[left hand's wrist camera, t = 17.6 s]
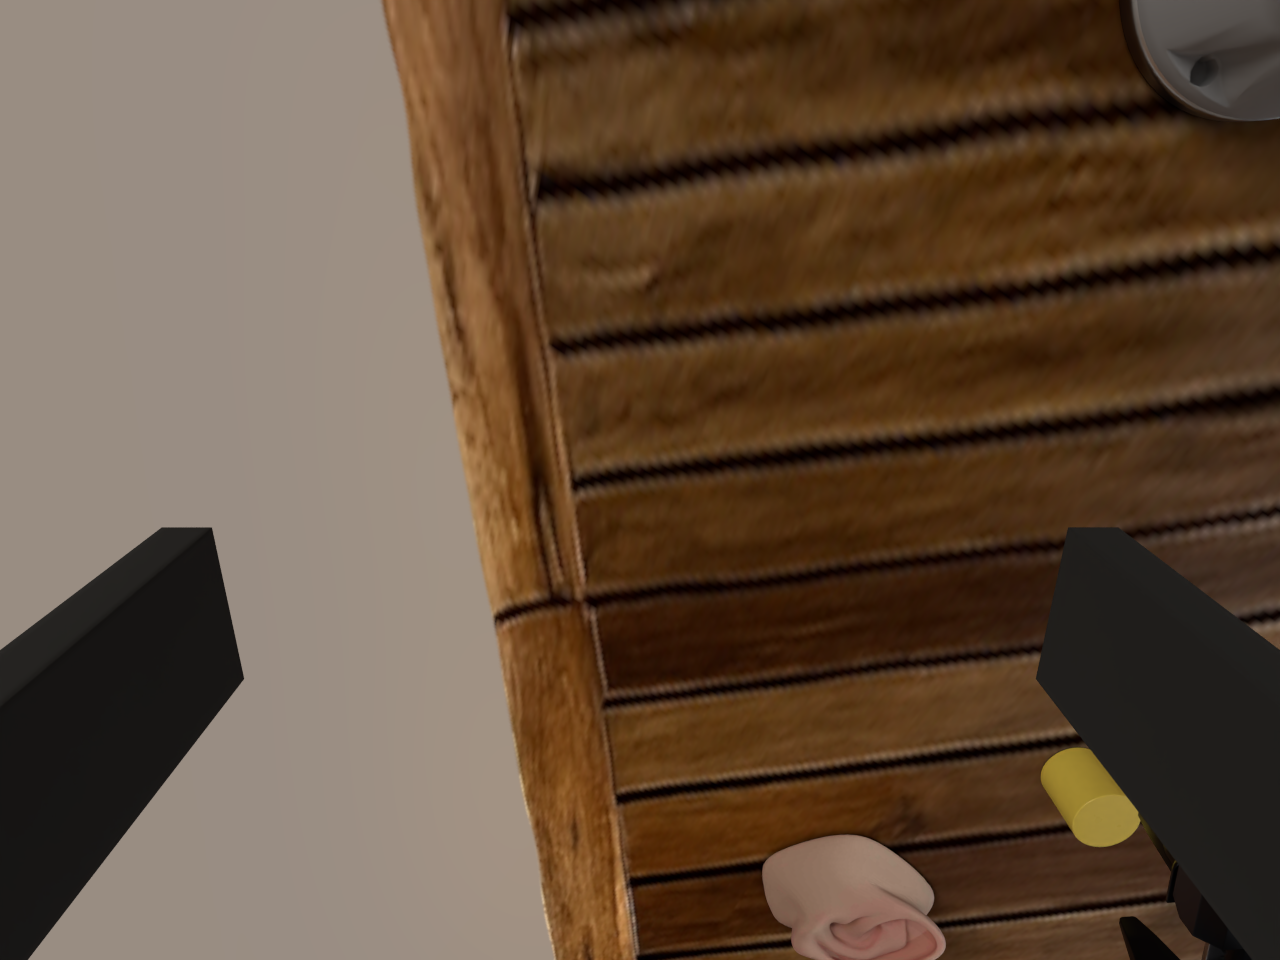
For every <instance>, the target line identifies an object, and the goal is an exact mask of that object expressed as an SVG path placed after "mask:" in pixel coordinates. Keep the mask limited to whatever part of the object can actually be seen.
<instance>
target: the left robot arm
mask: <svg viewBox="0 0 1280 960" xmlns="http://www.w3.org/2000/svg"><path fill="white" fill-rule="evenodd" d="M1119 5H1120V14H1121V22H1122V26H1123V31H1124V36H1125V39H1126V42H1127V45H1128V48H1129V51H1130V53H1131V55H1132V57H1133V60H1134V62H1135V64H1136V65H1137V67H1138V69H1139V70H1140V72H1141V74H1142V75H1143V77H1144V78H1145V79H1146V81H1147V82H1148V83H1149V84H1150V86H1151V87H1152V88H1153V89H1154V90H1155V91H1156V92H1157V93H1158V94H1159V95H1160V96H1162V97H1163V98H1164V99H1165V100H1167V101H1168V102H1169V103H1171V104H1172V105H1174V106H1176V107H1177V108H1179V109H1181V110H1183V111H1185V112H1187V113H1190V114H1192V115H1195V116H1198V117H1201V118H1204V119H1209V120H1215V121H1223V122H1247V121H1261V120H1270V119H1277V118H1280V0H1119ZM243 680H244V676H243V671H242V667H241V662H240V657H239V653H238V648H237V643H236V639H235V634H234V629H233V625H232V620H231V615H230V610H229V606H228V601H227V596H226V592H225V587H224V582H223V578H222V573H221V568H220V564H219V559H218V554H217V550H216V545H215V540H214V536H213V531H212V528H161V529H159V530H158V531H157V532H155V533H154V534H153V535H151V536H150V537H149V538H147V539H146V540H145V541H143V542H142V543H141V544H140V545H138V546H137V547H136V548H134V549H133V550H132V551H130V552H129V553H128V554H126V555H125V556H124V557H122V558H121V559H120V560H118V561H117V562H116V563H114V564H113V565H112V566H111V567H109V568H108V569H107V570H105V571H104V572H103V573H101V574H100V575H99V576H97V577H96V578H95V579H93V580H92V581H91V582H89V583H88V584H87V585H86V586H84V587H83V588H82V589H80V590H79V591H78V592H76V593H75V594H74V595H72V596H71V597H70V598H68V599H67V600H66V601H64V602H63V603H62V604H60V605H59V606H58V607H57V608H55V609H54V610H53V611H51V612H50V613H49V614H47V615H46V616H45V617H43V618H42V619H41V620H39V621H38V622H37V623H35V624H34V625H33V626H31V627H30V628H29V629H28V630H26V631H25V632H24V633H22V634H21V635H20V636H18V637H17V638H16V639H14V640H13V641H12V642H10V643H9V644H8V645H6V646H5V647H4V648H2V649H1V650H0V960H28V959H29V957H30V956H31V955H32V954H33V952H34V951H35V950H36V948H37V947H38V946H39V945H40V943H41V942H42V941H43V939H44V938H45V937H46V935H47V934H48V933H49V932H50V930H51V929H52V928H53V926H54V925H55V924H56V922H57V921H58V920H59V919H60V917H61V916H62V915H63V913H64V912H65V911H66V909H67V908H68V907H69V906H70V904H71V903H72V902H73V900H74V899H75V898H76V896H77V895H78V894H79V893H80V891H81V890H82V889H83V887H84V886H85V885H86V883H87V882H88V881H89V880H90V878H91V877H92V876H93V874H94V873H95V872H96V870H97V869H98V868H99V867H100V865H101V864H102V863H103V861H104V860H105V859H106V857H107V856H108V855H109V854H110V852H111V851H112V850H113V848H114V847H115V846H116V845H117V843H118V842H119V841H120V839H121V838H122V837H123V835H124V834H125V833H126V832H127V830H128V829H129V828H130V826H131V825H132V824H133V822H134V821H135V820H136V819H137V817H138V816H139V815H140V813H141V812H142V811H143V809H144V808H145V807H146V806H147V804H148V803H149V802H150V800H151V799H152V798H153V796H154V795H155V794H156V793H157V791H158V790H159V789H160V787H161V786H162V785H163V783H164V782H165V781H166V780H167V778H168V777H169V776H170V774H171V773H172V772H173V771H174V769H175V768H176V767H177V765H178V764H179V763H180V761H181V760H182V759H183V757H184V756H185V755H186V754H187V752H188V751H189V750H190V748H191V747H192V746H193V745H194V743H195V742H196V741H197V739H198V738H199V737H200V735H201V734H202V733H203V732H204V730H205V729H206V728H207V726H208V725H209V724H210V722H211V721H212V720H213V719H214V717H215V716H216V715H217V713H218V712H219V711H220V709H221V708H222V707H223V706H224V704H225V703H226V702H227V700H228V699H229V698H230V696H231V695H232V694H233V693H234V691H235V690H236V689H237V687H238V686H239V685H240V684H241V682H242V681H243ZM1036 680H1037V681H1038V682H1039V684H1040V685H1041V686H1042V687H1043V689H1044V690H1045V691H1046V693H1047V694H1048V695H1049V697H1050V698H1051V699H1052V700H1053V702H1054V703H1055V704H1056V706H1057V707H1058V708H1059V709H1060V711H1061V712H1062V713H1063V715H1064V716H1065V717H1066V719H1067V720H1068V721H1069V722H1070V724H1071V725H1072V726H1073V728H1074V729H1075V730H1076V732H1077V733H1078V734H1079V735H1080V737H1081V738H1082V739H1083V741H1084V742H1085V743H1086V745H1087V746H1088V747H1089V748H1090V750H1091V751H1092V752H1093V754H1094V755H1095V756H1096V758H1097V759H1098V760H1099V761H1100V763H1101V764H1102V765H1103V767H1104V768H1105V769H1106V771H1107V772H1108V773H1109V774H1110V776H1111V777H1112V778H1113V780H1114V781H1115V782H1116V783H1117V785H1118V786H1119V787H1120V789H1121V790H1122V791H1123V793H1124V794H1125V795H1126V796H1127V798H1128V799H1129V800H1130V802H1131V803H1132V804H1133V806H1134V807H1135V808H1136V809H1137V811H1138V812H1139V813H1140V815H1141V816H1142V817H1143V819H1144V820H1145V821H1146V822H1147V824H1148V825H1149V826H1150V828H1151V829H1152V830H1153V832H1154V833H1155V834H1156V835H1157V837H1158V838H1159V839H1160V841H1161V842H1162V843H1163V845H1164V846H1165V847H1166V848H1167V850H1168V851H1169V852H1170V854H1171V855H1172V856H1173V858H1174V859H1175V860H1176V861H1177V863H1178V864H1179V865H1180V867H1181V868H1182V869H1183V870H1184V872H1185V873H1186V874H1187V876H1188V877H1189V878H1190V880H1191V881H1192V882H1193V883H1194V885H1195V886H1196V887H1197V889H1198V890H1199V891H1200V893H1201V894H1202V895H1203V896H1204V898H1205V899H1206V900H1207V902H1208V903H1209V904H1210V906H1211V907H1212V908H1213V909H1214V911H1215V912H1216V913H1217V915H1218V916H1219V917H1220V919H1221V920H1222V921H1223V922H1224V924H1225V925H1226V926H1227V928H1228V929H1229V930H1230V932H1231V933H1232V934H1233V935H1234V937H1235V938H1236V939H1237V941H1238V942H1239V943H1240V945H1241V946H1242V947H1243V948H1244V950H1245V951H1246V952H1247V954H1248V955H1249V956H1250V957H1251V959H1252V960H1280V650H1279V649H1278V648H1276V647H1275V646H1274V645H1272V644H1271V643H1270V642H1268V641H1267V640H1266V639H1264V638H1263V637H1262V636H1260V635H1259V634H1258V633H1256V632H1255V631H1254V630H1253V629H1251V628H1250V627H1249V626H1247V625H1246V624H1245V623H1243V622H1242V621H1241V620H1239V619H1238V618H1237V617H1235V616H1234V615H1233V614H1231V613H1230V612H1229V611H1227V610H1226V609H1225V608H1224V607H1222V606H1221V605H1220V604H1218V603H1217V602H1216V601H1214V600H1213V599H1212V598H1210V597H1209V596H1208V595H1206V594H1205V593H1204V592H1202V591H1201V590H1200V589H1198V588H1197V587H1196V586H1195V585H1193V584H1192V583H1191V582H1189V581H1188V580H1187V579H1185V578H1184V577H1183V576H1181V575H1180V574H1179V573H1177V572H1176V571H1175V570H1173V569H1172V568H1171V567H1169V566H1168V565H1167V564H1166V563H1164V562H1163V561H1162V560H1160V559H1159V558H1158V557H1156V556H1155V555H1154V554H1152V553H1151V552H1150V551H1148V550H1147V549H1146V548H1144V547H1143V546H1142V545H1140V544H1139V543H1138V542H1137V541H1135V540H1134V539H1133V538H1131V537H1130V536H1129V535H1127V534H1126V533H1125V532H1123V531H1122V530H1121V529H1119V528H1068V531H1067V535H1066V540H1065V545H1064V549H1063V554H1062V559H1061V564H1060V568H1059V573H1058V578H1057V582H1056V587H1055V592H1054V596H1053V601H1052V606H1051V610H1050V615H1049V620H1048V624H1047V629H1046V634H1045V639H1044V643H1043V648H1042V653H1041V657H1040V662H1039V667H1038V671H1037V676H1036Z"/></svg>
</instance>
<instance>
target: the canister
mask: <svg viewBox="0 0 1280 960" xmlns="http://www.w3.org/2000/svg"><path fill="white" fill-rule="evenodd" d="M1041 783H1042V785H1043V787H1044V789H1045V790H1046V792H1047V793H1048V795H1049V796H1050V798H1051V799H1052V801H1053V803H1054V804H1055V806H1056V807H1057V809H1058V810H1059V812H1060V813H1061V815H1062V816H1063V818H1064V820H1065V821H1066V823H1067V824H1068V826H1069V827H1070V829H1071V830H1072V832H1073V833H1074V835H1075V837H1076V838H1077V839H1078V840H1080V841H1081V842H1082V843H1084V844H1087V845H1089V846H1094V847H1106V846H1111V845H1114V844H1117V843H1120V842H1122V841H1123V840H1125V839H1127V838H1128V837H1129V836H1131V835H1132V834H1133V833H1134V832H1135V830H1136V829H1137V827H1138V825H1139V823H1140V819H1139V817H1138V811H1137V809H1136V808H1135V807H1134V806H1133V804H1132V803H1131V802H1130V800H1129V799H1128V798H1127V796H1126V795H1125V794H1124V793H1123V791H1122V790H1121V789H1120V787H1119V786H1118V785H1117V783H1116V782H1115V781H1114V780H1113V778H1112V777H1111V776H1110V774H1109V773H1108V772H1107V771H1106V769H1105V768H1104V767H1103V765H1102V764H1101V763H1100V761H1099V760H1098V759H1097V758H1096V756H1095V755H1094V754H1093V752H1092V751H1091V750H1090V749H1086V748H1069V749H1066V750H1063V751H1061V752H1058V753H1057V754H1055V755H1054V756H1052V757H1051V758H1050V759H1049V760H1048V761H1047V762H1046V763H1045V765H1044V766H1043V769H1042V771H1041Z"/></svg>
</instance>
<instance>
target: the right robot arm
mask: <svg viewBox="0 0 1280 960" xmlns="http://www.w3.org/2000/svg"><path fill="white" fill-rule="evenodd" d="M1138 817H1139V819H1140V821H1141V822H1142V824H1143V826H1144V828H1145V830H1146V832H1147V834H1148V835H1149V837H1150V839H1151V840H1152V842H1153V843H1154V845H1155V847H1156V848H1157V850H1158V851H1159V853H1160V855H1161V856H1162V858H1163V859H1164V861H1165V863H1166V864H1167V866H1168V868H1169V869H1170V871H1171V876H1170V881H1169V886H1168V891H1167V896H1166V902H1167V903H1171V902H1175V904H1176V907H1177V910H1178V914H1179V917H1180V919H1181V920H1182V922H1183V923H1184V924H1185V926H1186V927H1187V929H1188V930H1189V931H1190V933H1191V934H1192V936H1194V937H1196V938H1198V939H1200V940H1202V941H1204V942H1206V943H1205V947H1204V951H1203V956H1202V960H1252V959H1251V957H1250V956H1249V955H1248V954H1247V952H1246V951H1245V950H1244V948H1243V947H1242V946H1241V945H1240V943H1239V942H1238V941H1237V939H1236V938H1235V937H1234V935H1233V934H1232V933H1231V932H1230V930H1229V929H1228V928H1227V926H1226V925H1225V924H1224V922H1223V921H1222V920H1221V919H1220V917H1219V916H1218V915H1217V913H1216V912H1215V911H1214V909H1213V908H1212V907H1211V906H1210V904H1209V903H1208V902H1207V900H1206V899H1205V898H1204V896H1203V895H1202V894H1201V893H1200V891H1199V890H1198V889H1197V887H1196V886H1195V885H1194V883H1193V882H1192V881H1191V880H1190V878H1189V877H1188V876H1187V874H1186V873H1185V872H1184V870H1183V869H1182V868H1181V867H1180V865H1179V864H1178V863H1177V861H1176V860H1175V859H1174V858H1173V856H1172V855H1171V854H1170V852H1169V851H1168V850H1167V848H1166V847H1165V846H1164V845H1163V843H1162V842H1161V841H1160V839H1159V838H1158V837H1157V835H1156V834H1155V833H1154V832H1153V830H1152V829H1151V828H1150V826H1149V825H1148V824H1147V822H1146V821H1145V820H1144V819H1143V817H1142V816H1141V815H1140V813H1139V812H1138ZM1119 925H1120V928H1121V931H1122V934H1123V938H1124V941H1125V944H1126V948H1127V951H1128V954H1129V958H1130V960H1180V959H1179V958H1178V957H1177V956H1176V955H1175V954H1174V953H1173V952H1172V951H1171V950H1170V949H1169V948H1168V947H1167V946H1166V945H1165V944H1164V943H1163V942H1162V941H1161V940H1160V939H1159V938H1158V937H1157V936H1156V935H1155V934H1154V933H1153V932H1152V931H1151V930H1150V929H1148V928H1147V927H1146V926H1145V925H1144V924H1143V923H1142V922H1141V921H1140V920H1138V919H1137V918H1136V917H1133V916H1131V917H1121V918H1120V921H1119Z"/></svg>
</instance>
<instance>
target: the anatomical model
mask: <svg viewBox="0 0 1280 960" xmlns="http://www.w3.org/2000/svg"><path fill="white" fill-rule="evenodd" d="M762 875H763V884H764V890H765V895H766V899H767V902H768V904H769V907H770V909H771V911H772V913H773V915H774V917H775V918H776V919H777V920H778V921H779V922H780V923H782V924H784V925H786V926H788V927H790V928H792V936H791V941H792V945H793V948H794V949H795V951H796V952H797V953H799V954H801V955H803V956H806V957H809V958H812V959H815V960H935V959H937V958H938V957H939V956H940V955H941V954H942V953H943V952H944V950H945V947H946V942H945V938H944V936H943V934H942V932H941V930H940V929H939V928H938V926H937V925H936V924H935V923H934V922H933V921H932V920H931V919H930V918H929V917H928V916H926V915H927V914H928V912H929V911H930V909H931V908H932V905H933V902H934V893H933V890H932V888H931V887H930V885H929V884H928V883H927V882H926V880H925V879H924V878H923V877H922V876H921V875H920V874H919V873H918V872H917V871H916V870H915V869H914V868H913V867H912V866H910V865H909V864H908V863H907V862H906V861H904V860H903V859H902V858H900V857H899V856H898V855H896V854H895V853H894V852H892V851H891V850H889V849H888V848H886V847H885V846H883V845H881V844H880V843H878V842H876V841H874V840H871V839H869V838H866V837H863V836H858V835H847V834H846V835H833V836H826V837H822V838H817V839H813V840H809V841H806V842H802V843H799V844H796V845H793V846H790V847H788V848H786V849H783V850H781V851H779V852H777V853H775V854H773V855H772V856H770V857H769V858H768V859H767V860H766V862H765V863H764V866H763V871H762Z"/></svg>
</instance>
